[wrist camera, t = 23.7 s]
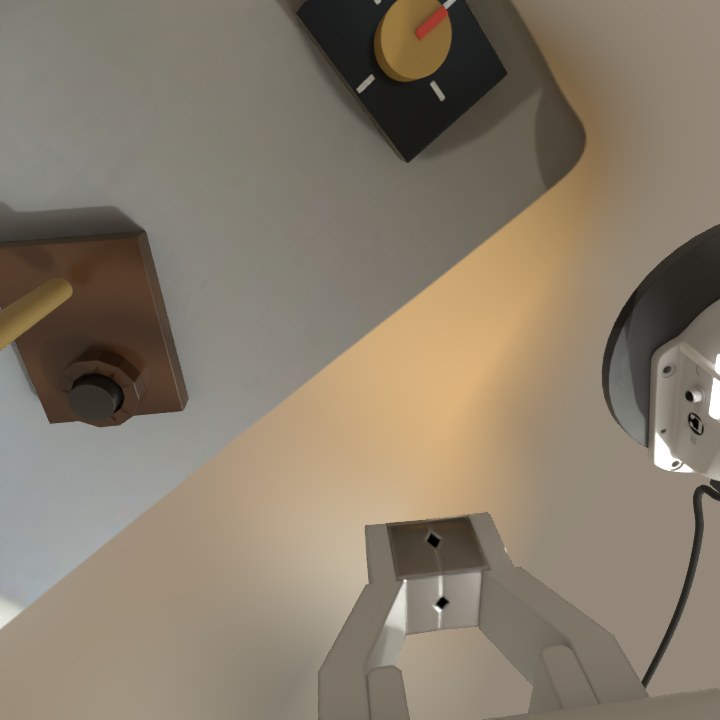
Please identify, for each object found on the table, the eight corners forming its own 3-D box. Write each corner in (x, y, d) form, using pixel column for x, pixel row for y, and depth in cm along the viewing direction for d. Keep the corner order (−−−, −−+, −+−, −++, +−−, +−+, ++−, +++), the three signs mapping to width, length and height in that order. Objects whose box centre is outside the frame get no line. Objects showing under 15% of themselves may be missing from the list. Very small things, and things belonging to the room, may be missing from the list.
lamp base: (188, 398, 47) (178, 422, 43) (60, 411, 46) (40, 435, 43) (146, 231, 40) (129, 242, 36) (-7, 242, 39) (-39, 255, 35)
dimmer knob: (400, 96, 34) (409, 94, 31) (360, 38, 32) (366, 29, 29) (451, 50, 33) (467, 43, 30) (413, -13, 31) (425, -28, 28)
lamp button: (127, 408, 43) (120, 419, 41) (84, 412, 42) (76, 423, 41) (115, 372, 41) (107, 382, 39) (71, 376, 41) (61, 386, 39)
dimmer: (494, 76, 37) (509, 73, 34) (401, 160, 39) (408, 163, 36) (396, -85, 32) (404, -104, 29) (296, 20, 34) (295, 12, 31)
